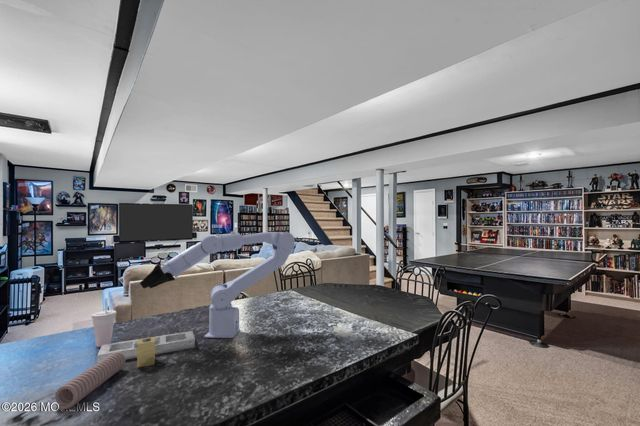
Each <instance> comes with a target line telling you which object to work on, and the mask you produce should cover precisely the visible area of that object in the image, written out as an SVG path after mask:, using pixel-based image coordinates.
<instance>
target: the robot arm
mask: <svg viewBox="0 0 640 426" xmlns="http://www.w3.org/2000/svg"><path fill="white" fill-rule="evenodd" d="M295 242H296V240H295V237H294V235H293V234H292V233H291V232H288V231H284V232H283V231H278V232H277V231H264V232H258V233H252V234H245V235H241V233H239V232H236V231H234V230H232V231H230V233H223V234H220V233H216V234H215V235H207V236H204V237H203V238H202V240H201V241H199V242H197V243H195V244H193V245H192V246H191V245H190V247H188V248H186V249H184V250H183V251H181V252H180V253H179V254H177V255H175V256H174V257H172V258H170V259H168V258H167V257H165V258H163V260H164V262H165V263H164V264H165V265H163V266H162V265H160V263H157V264H156V265H155V266H154V268H152V270H151V272H150V273H149V274H147V275H146V276H145V277H144V278H143V279H142V280H141V281H140V282H139V284H140V286H141V287H142V289H147V288H150V289H153V288H156V287H157V286H160V285H163V284H165V283H168V282H173V281H175V280H176V278H178V277H179V276H180V275H181V274H183V273H185V272H186V271H187V270H189V269H191V268H192V267H193V266H195V265H197V264H198V263H200V262H201V261H203V260H204V259H205V258H206V257H208V256H210V254H213V255H214V254H217V252H219V251H220V252H226V251H233V250H240V249H242V246H244V245H249V244H258V243H259V244H260V243H267V244H269V245H272V252H271V256H270V257H268V258H267V259H265V260H263V261H262V262H261V263H258V264H257V265H255V266H253V267H252V268H251V269H249V270H247V271H245V272H244V273H243V274H241V275H239V276H238V277H236V278H234V279H232V280H230V281H226V282H225V283H224V284H217V285H215V286H214V287H213V288H212V289H211V291H210V294H209V295H210V299H211V305H209V307H208V308H209V309H208V310H209V315H208V319H209V320H208V321H209V322H208V323H209V325H208V326H209V327H208V330H209V331H208V332H207V333H206V334H204V336H203V337H204V338H206V339H207V338H213V339H214V338H215V339H216V338H217V339H220V338H224V339H228V338H229V339H231V338H234V337H235V336H236V335H237V334H238V332H240V309H239V307H237V306H236V307H234V306H233V304H232V302H233V301H234V300H235V299H237V298H238V297H239V295H240V294H241V293H242V292H244V291H245V290H247V289H248V288H251V286H253V285H254V284H257V282H260V281H261V280H262V279H264V278H266V277H267V276H268V275H270V274H272V273H273V272H275V271H276V270H278V269H280V268H281V267H283V266H284V265H285V264H286V262H287V260H288V258H289V257H290V254H291V253H292V252H293V251H294V248H295Z"/></svg>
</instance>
